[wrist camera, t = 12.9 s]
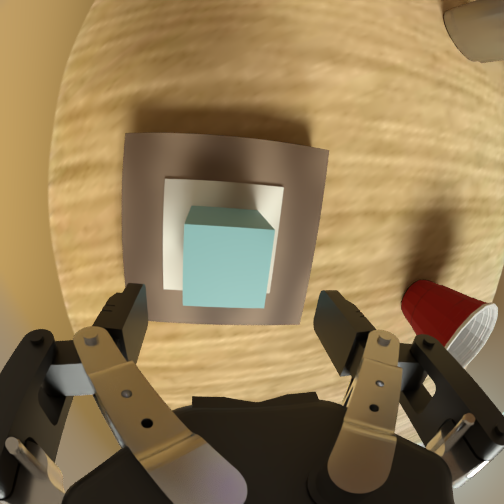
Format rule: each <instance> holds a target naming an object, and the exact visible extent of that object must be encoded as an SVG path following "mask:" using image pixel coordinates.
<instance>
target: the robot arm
mask: <svg viewBox="0 0 504 504" xmlns="http://www.w3.org/2000/svg"><path fill="white" fill-rule="evenodd" d="M444 21H445V25H446V28H447V30H448V32H449V34H450V36H451V38H452V40H453V42H454V43H455V45H456V46H457V47H458V49H459V50H460V51H461V52H462V53H463V54H464V55H465V56H466V57H467V58H468V59H470V60H471V61H480V62H481V63H486V62H493V61H502V60H504V0H476V1H473V2H470V3H467V4H464V5H461V6H458V7H455V8H453V9H450V10H448V11H446V12H445V13H444ZM147 326H148V308H147V296H146V286H145V284H139V283H128V284H127V286H126V288H125V289H124V291H123V293H116V294H114V295H113V296H111V297H110V298H109V299H108V301H107V302H106V304H105V306H104V307H103V309H102V311H101V312H100V314H99V315H98V317H97V319H96V320H95V322H94V324H93V325H92V326H91V327H86V328H83V329H81V330H79V331H78V332H77V333H76V334H75V335H74V338H73V340H69V341H55V340H54V336H53V334H52V333H51V332H50V331H48V330H45V329H38V330H34V331H31V332H29V333H28V334H26V335H25V337H24V338H23V339H22V341H21V342H20V343H19V345H18V346H17V348H16V349H15V351H14V352H13V354H12V356H11V357H10V359H9V360H8V362H7V363H6V365H5V366H4V368H3V370H2V372H1V373H0V504H454V499H453V491H452V488H458V487H461V486H462V485H464V484H465V483H466V482H467V481H469V480H470V479H471V478H472V477H473V476H475V475H476V474H477V473H478V472H479V471H480V470H482V469H483V468H484V467H485V466H486V465H487V464H488V463H490V462H491V461H492V460H493V459H494V458H495V457H496V456H497V455H498V454H499V453H500V452H501V451H502V450H503V449H504V416H503V415H502V414H501V412H500V411H499V410H498V409H497V407H496V406H495V405H494V404H493V402H492V401H491V400H490V399H489V397H488V396H487V395H486V394H485V393H484V391H483V390H482V389H481V388H480V387H479V385H478V384H477V383H476V382H475V381H474V380H473V378H472V377H471V376H470V375H469V374H468V373H467V372H466V370H465V369H464V368H463V367H462V366H461V365H460V364H459V363H458V361H457V360H456V359H455V358H454V357H453V356H452V355H451V354H450V353H449V352H448V351H447V349H446V348H445V347H444V346H443V345H442V344H441V343H440V342H439V341H438V340H437V339H435V338H434V337H432V336H429V335H426V334H419V335H417V336H416V337H415V339H414V341H413V343H412V344H404V343H400V342H399V339H398V338H397V337H396V336H395V335H394V334H392V333H390V332H388V331H384V330H376V329H375V327H374V326H373V325H372V324H371V323H370V322H369V321H368V319H367V318H366V317H364V315H363V314H362V313H361V312H360V310H359V309H358V308H357V307H356V306H355V305H354V304H352V303H351V302H349V301H347V300H345V298H344V297H343V296H342V295H341V294H340V293H339V292H338V291H337V290H323V291H321V293H320V295H319V299H318V304H317V308H316V312H315V316H314V330H315V332H316V334H317V336H318V338H319V339H320V341H321V343H322V345H323V347H324V348H325V350H326V352H327V354H328V356H329V357H330V359H331V361H332V363H333V364H334V366H335V368H336V370H337V372H338V374H339V375H340V377H341V376H348V375H351V376H352V378H351V380H350V382H349V385H348V388H347V390H346V393H345V396H344V398H343V401H342V403H341V405H340V404H337V403H334V402H330V401H325V400H319V399H318V396H317V394H316V392H307V393H298V394H287V395H284V396H280V397H277V398H273V399H270V400H266V401H262V402H250V401H243V400H237V399H232V398H226V397H197V396H192V405H190V406H185V407H181V408H178V409H175V410H171V409H170V408H169V407H168V406H167V404H166V403H165V402H164V401H163V400H162V398H161V397H160V396H159V395H158V393H157V392H156V391H155V390H154V388H153V387H152V386H151V385H150V383H149V382H148V381H147V379H146V378H145V377H144V375H143V374H142V373H141V371H140V370H139V369H138V367H137V366H136V363H137V359H138V356H139V353H140V349H141V346H142V343H143V340H144V336H145V333H146V330H147ZM427 375H429V376H430V377H431V379H432V380H433V381H434V383H435V385H436V392H435V394H434V396H433V397H431V395H430V394H429V392H428V391H427V390H426V388H425V387H424V385H423V382H424V380H425V378H426V377H427ZM91 394H92V395H93V397H94V399H95V401H96V403H97V405H98V407H99V409H100V410H101V413H102V414H103V416H104V418H105V420H106V422H107V424H108V425H109V427H110V429H111V431H112V432H113V434H114V436H115V438H116V440H117V441H118V443H119V445H120V446H121V448H122V449H120V450H119V451H118V452H116V453H115V454H114V455H113V456H111V457H110V458H109V459H107V460H106V461H105V462H103V463H102V464H101V465H99V466H98V467H97V468H95V469H94V470H93V471H91V472H90V473H88V474H87V475H85V476H84V477H83V478H81V479H80V480H78V481H77V482H75V483H74V484H73V485H72V486H71V487H70V488H69V489H68V490H67V492H66V493H65V490H64V487H63V476H62V472H61V470H60V469H59V468H58V466H57V465H56V464H55V459H56V455H57V451H58V447H59V443H60V439H61V435H62V432H63V429H64V425H65V422H66V418H67V415H68V412H69V409H70V406H71V403H72V400H73V397H74V395H75V396H76V395H91ZM399 402H400V404H401V406H402V407H403V409H404V411H405V412H406V414H407V416H408V418H409V419H410V421H411V423H412V424H413V426H414V428H415V430H416V431H417V433H418V435H419V437H420V438H421V440H422V442H423V444H424V445H425V447H426V448H424V447H422V446H419V445H417V444H415V443H413V442H411V441H409V440H407V439H405V438H403V437H401V436H399V435H397V434H395V433H394V431H395V425H396V419H397V413H398V406H399Z"/></svg>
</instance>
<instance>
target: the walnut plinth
mask: <svg viewBox="0 0 504 504" xmlns="http://www.w3.org/2000/svg"><path fill="white" fill-rule="evenodd" d="M328 156H329V150H325V149H320V148H314V147H309V146H303V145H297V144H291V143H284V142H277V141H269V140H262V139H253V138H244V137H233V136H222V135H207V134H188V133H125V144H124V157H123V176H122V244H123V263H124V276H125V287H126V286H127V284H128V283H139V284H145V286H146V296H147V308H148V321H157V322H171V323H190V324H215V325H299V324H300V320H301V316H302V311H303V307H304V302H305V297H306V292H307V287H308V282H309V277H310V272H311V267H312V262H313V256H314V251H315V245H316V239H317V233H318V227H319V221H320V215H321V208H322V201H323V194H324V187H325V180H326V172H327V164H328ZM191 206H207V207H222V208H236V209H249V210H258V211H259V212H260V214H261V215H262V216H263V217H264V218H265V219H266V220H267V221H268V223H269V224H270V225H271V226H272V227H273V228H274V229H275V235H274V242H273V250H272V257H271V264H270V271H269V278H268V285H267V292H266V299H265V306H264V308H227V307H202V306H183V243H184V224H185V221H186V218H187V216H188V213H189V211H190V208H191Z"/></svg>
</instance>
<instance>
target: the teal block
mask: <svg viewBox="0 0 504 504" xmlns="http://www.w3.org/2000/svg"><path fill="white" fill-rule="evenodd" d="M274 235H275V229H274V228H273V227H272V226H271V225H270V224H269V223H268V221H267V220H266V219H265V218H264V217H263V216H262V215H261V214H260V212H259V211H258V210H249V209H236V208H222V207H207V206H191V208H190V211H189V213H188V216H187V218H186V221H185V224H184V243H183V306H202V307H227V308H264V306H265V299H266V292H267V285H268V278H269V271H270V264H271V257H272V250H273V242H274Z"/></svg>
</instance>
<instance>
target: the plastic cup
mask: <svg viewBox="0 0 504 504" xmlns="http://www.w3.org/2000/svg"><path fill="white" fill-rule="evenodd" d="M401 310H402V312H403V314H404V316H405V318H406V319H407V320H408V322H409V323H410V325H411V326H412V328H413V330H414V332H415V333H416V335H419V334H426V335H429V336H432V337H434V338H435V339H437V340H438V341H439V342H440V343H441V344H442V345H443V346H444V347H445V348H446V349H447V351H448V352H449V353H450V354H451V355H452V356H453V357H454V358H455V359H456V360H457V361H458V363H459V364H460V365H461V366H462V367H463V368H464V367H465V366H466V365H467V364H468V363H469V362H470V361H471V360H472V359H473V358H474V357H475V356H476V355H477V353H478V352H479V351H480V349H481V348H482V347H483V346H484V344H485V343H486V341H487V339H488V338H489V335H490V334H491V332H492V330H493V328H494V325H495V322H496V320H497V315H498V314H497V313H498V307H497V306H496V305H495V304H494V303H486V302H483V301H481V300H477V299H475V298H471V297H469V296H467V295H464V294H462V293H460V292H457V291H455V290H453V289H450V288H448V287H445V286H443V285H439V284H436V283H434V282H431V281H429V280H419V281H417V282H415V283H413V284H412V285H411V286H410V287H409V288H408V290H407V291H406V293H405V295H404V297H403V300H402V303H401Z"/></svg>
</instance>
